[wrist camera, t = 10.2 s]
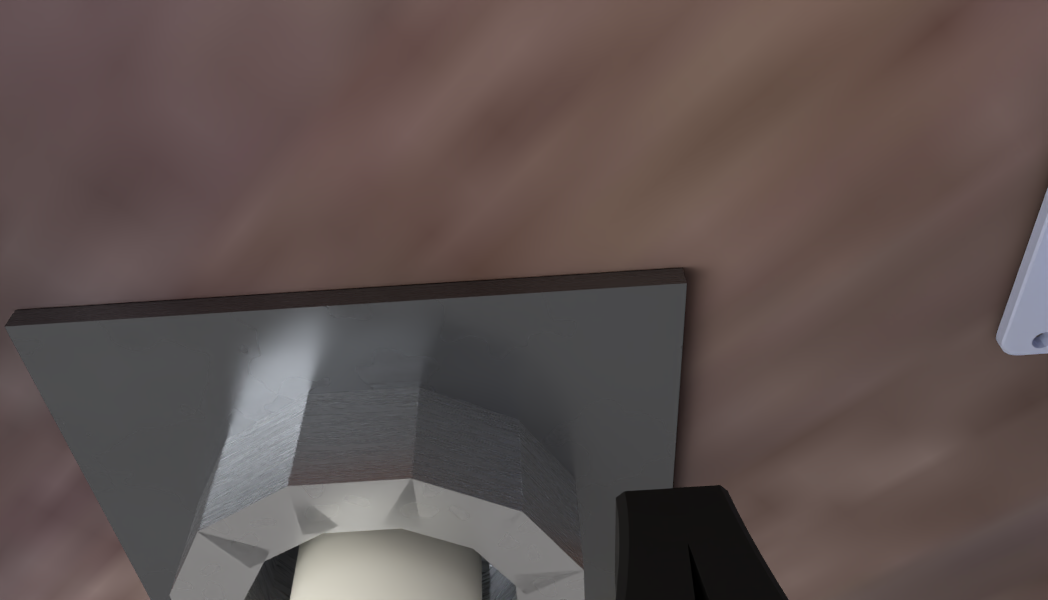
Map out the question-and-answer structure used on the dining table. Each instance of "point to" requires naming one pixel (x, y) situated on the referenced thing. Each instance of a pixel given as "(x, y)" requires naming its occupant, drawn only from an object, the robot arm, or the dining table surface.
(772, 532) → the dining table surface
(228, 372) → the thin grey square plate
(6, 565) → the dining table surface
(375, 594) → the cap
